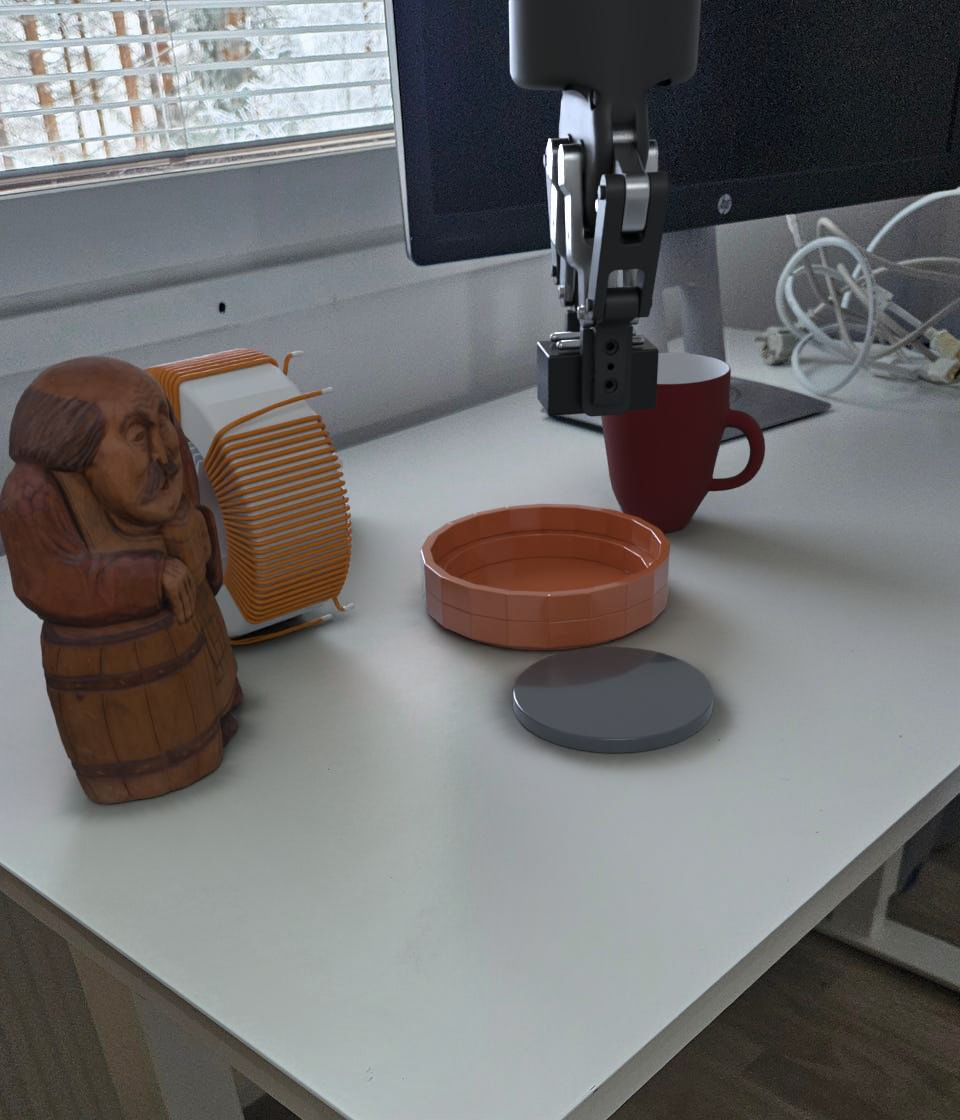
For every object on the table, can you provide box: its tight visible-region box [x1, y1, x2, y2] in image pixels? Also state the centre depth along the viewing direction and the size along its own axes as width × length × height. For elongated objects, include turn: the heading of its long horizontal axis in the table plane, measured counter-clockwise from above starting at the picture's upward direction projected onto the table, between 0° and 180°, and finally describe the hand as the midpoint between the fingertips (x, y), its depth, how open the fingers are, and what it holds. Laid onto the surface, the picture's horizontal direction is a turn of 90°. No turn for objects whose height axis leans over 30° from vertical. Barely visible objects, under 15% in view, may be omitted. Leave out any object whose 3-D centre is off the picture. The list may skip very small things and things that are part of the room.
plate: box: [512, 646, 714, 754], centre depth 62 cm, size 10×10×1 cm
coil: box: [143, 347, 356, 646], centre depth 68 cm, size 7×15×15 cm, turn 40°
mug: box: [600, 352, 766, 534], centre depth 80 cm, size 11×8×10 cm
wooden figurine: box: [0, 355, 245, 805], centre depth 55 cm, size 12×6×18 cm, turn 173°
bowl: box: [420, 503, 672, 651], centre depth 72 cm, size 14×14×4 cm
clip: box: [536, 327, 660, 417], centre depth 56 cm, size 5×3×3 cm, turn 98°
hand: (596, 400), depth 57 cm, fingers closed on clip, 3 cm apart
